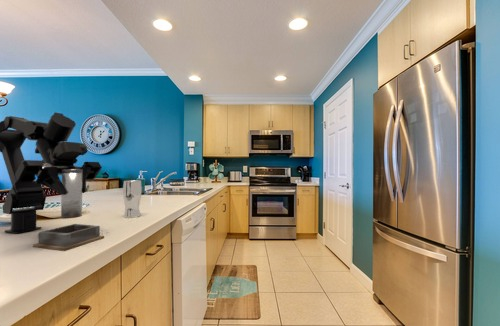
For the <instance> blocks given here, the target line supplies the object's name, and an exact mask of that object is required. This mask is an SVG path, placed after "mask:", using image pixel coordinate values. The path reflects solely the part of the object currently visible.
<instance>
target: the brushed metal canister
mask: <svg viewBox="0 0 500 326" xmlns="http://www.w3.org/2000/svg"><path fill="white" fill-rule="evenodd" d="M82 179H83V169H62V175H61V182H62V184H63V185H64V187H65V190H66V194H65V195H62V194H61V199H60V201H61V202H60V203H61V207H60V210H61V211H60V212H61V213H60V219H75V218H76V219H77V218H80V217H83V193H82Z"/></svg>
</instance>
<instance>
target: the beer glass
mask: <svg viewBox="0 0 500 326" xmlns="http://www.w3.org/2000/svg"><path fill="white" fill-rule="evenodd" d="M142 189H143V188H142V181H141V179H137V180H135V179H134V180H133V179H131V180H123V185H122V196H123V201H124V209H125V210H124V214H123V217H124V218H126V219H132V218H138V217H141V213H140V204H141V203H140V202H141V198H142V192H143V191H142Z"/></svg>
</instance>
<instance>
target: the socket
mask: <svg viewBox="0 0 500 326" xmlns="http://www.w3.org/2000/svg"><path fill="white" fill-rule="evenodd" d="M100 230H101V227H100V225H93V224H92V225H90V224H80V223H78V224H77V223H74V224H69V225H65V226H59V227H56V228H52V229H47V230H44V231H43V230H42V231H39V232H38V242H37V243H34V244H32V248H35V249H36V248H37V249H47V250H54V251H62V252H66V251H69V250H72V249H75V248H79V247H81V246H85V245H87V244H90V243H93V242H97V241H100V240H103V239H105V236H104V235H100Z"/></svg>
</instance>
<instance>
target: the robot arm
mask: <svg viewBox="0 0 500 326" xmlns="http://www.w3.org/2000/svg"><path fill="white" fill-rule="evenodd" d="M75 127H76V122H75V120H73V119H71V118H69V117H68V116H65V115H64V113H61V112H60V113H59V112H56V111H54V113H53V115H51V116H50V118H49V120H48V122H41V121H33V120H29V119H27V118H24V117H19V116H12V115H9V116H8V115H7V116H5V117H4V119H3V120H2V121H0V153H1V155H2V158H3V160H4V164H5V167H6V170H7V171H6V172H7V174H8V177H9V180H10V183H11V189H10V190H9V192H8V193H7V195H6V196H7V197H6V199H5V201H4V203H3V204H2V213H3V214H5V215H6V214H7V215H10V229H7V230H6V229H5V230H4V233H8V234H9V233H11V234H23V233H27V232H31V231H36V230H41V229H42V227H41V226H37V219H38V217H37V211H44V208H45V204H46V199H47V196H46V193H45V191H44V189H43V186H45V187H46V188H49V189H50V190H53V191H55V192H56V193H58V194H60V195H61V196H62V195H65V194H66V190H65V187H64V185H63V184H62V179H61V178H60V177H59V176H62V169H83V179H82V194H85V193H86V191H87V181H90V180H91V181H93V180H94V179H96V177H97V176H98V174H99V172H100V171H101V170H102V168H103V167H102V165H101V164H100V162H99V161H84V163H83V164H82V165H81V166H78V165H74V164H77V162H79V161H78V159H77V158H78V157H79V156H84V155H86V154H87V153H88V148H87V146H86V144H85V143H84V142H83V143H82V142H72V141H68V140H69V138H70V136H71V135H72V132H74V131H73V130H74V129H75ZM26 139H27V140H29V141H35V149H34V154H40V157H41V158H42V160H37V159H36V160H35V159H34V160H32V159H28V160H27V159H25V158H24V154H23V152H22V149H21V148H22V147H23V144H24V142H25V141H26Z"/></svg>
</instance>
